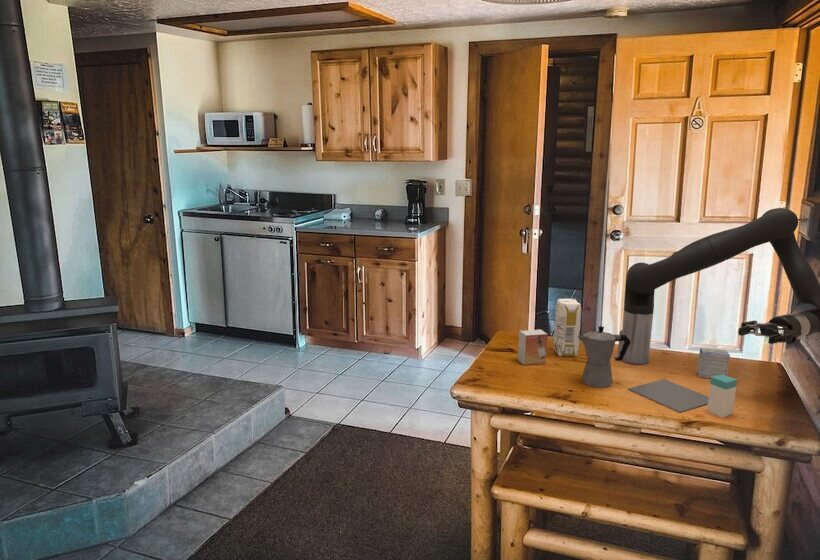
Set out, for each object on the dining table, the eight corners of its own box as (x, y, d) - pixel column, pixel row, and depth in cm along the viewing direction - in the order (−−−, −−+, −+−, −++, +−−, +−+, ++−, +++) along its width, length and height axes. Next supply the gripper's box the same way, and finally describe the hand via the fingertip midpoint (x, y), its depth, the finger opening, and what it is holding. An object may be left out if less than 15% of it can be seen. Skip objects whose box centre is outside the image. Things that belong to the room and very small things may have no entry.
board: (627, 389, 180) (627, 388, 180) (664, 380, 187) (664, 378, 187) (679, 412, 165) (680, 411, 164) (717, 401, 172) (717, 400, 172)
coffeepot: (576, 387, 182) (581, 330, 178) (572, 375, 191) (576, 320, 187) (629, 390, 180) (635, 332, 176) (623, 378, 189) (628, 323, 185)
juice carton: (557, 357, 207) (561, 304, 203) (551, 349, 215) (555, 297, 211) (579, 357, 207) (583, 304, 203) (572, 349, 215) (576, 297, 211)
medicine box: (723, 375, 192) (726, 349, 190) (726, 380, 188) (730, 354, 186) (696, 372, 194) (699, 347, 192) (699, 377, 190) (702, 351, 188)
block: (707, 411, 166) (711, 377, 164) (717, 407, 168) (721, 374, 166) (722, 417, 162) (726, 382, 160) (732, 414, 164) (737, 379, 162)
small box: (524, 365, 199) (525, 335, 197) (517, 360, 204) (518, 330, 202) (546, 363, 201) (548, 333, 199) (539, 358, 206) (540, 328, 204)
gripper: (766, 309, 179) (731, 316, 171) (816, 321, 166) (782, 329, 159) (762, 333, 180) (728, 341, 173) (813, 346, 168) (778, 356, 160)
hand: (754, 335), depth 166 cm, fingers open, 8 cm apart
